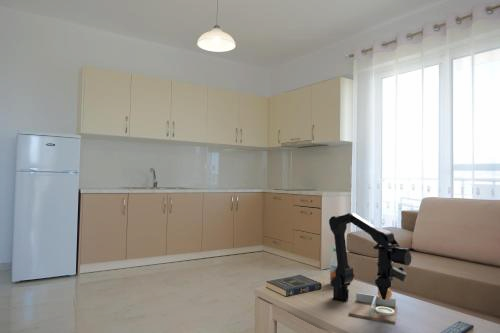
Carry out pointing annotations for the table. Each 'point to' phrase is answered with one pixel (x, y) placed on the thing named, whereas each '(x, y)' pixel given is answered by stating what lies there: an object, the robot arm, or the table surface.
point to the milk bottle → (333, 265)
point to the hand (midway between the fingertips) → (384, 297)
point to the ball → (386, 295)
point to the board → (374, 308)
